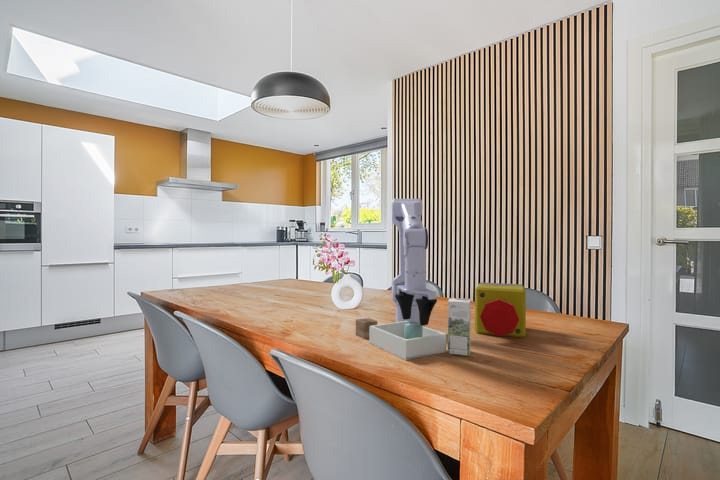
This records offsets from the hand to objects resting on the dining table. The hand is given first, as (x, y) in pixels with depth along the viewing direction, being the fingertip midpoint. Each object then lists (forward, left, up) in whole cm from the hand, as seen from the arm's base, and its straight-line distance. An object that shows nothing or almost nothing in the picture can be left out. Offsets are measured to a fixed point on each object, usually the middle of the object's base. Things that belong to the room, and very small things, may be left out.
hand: (415, 321), depth 100 cm
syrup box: (-9, +7, -8) cm, 14 cm away
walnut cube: (+4, -20, -8) cm, 22 cm away
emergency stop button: (-35, -1, -8) cm, 36 cm away
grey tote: (0, -4, -8) cm, 9 cm away
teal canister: (+1, 0, -7) cm, 7 cm away
